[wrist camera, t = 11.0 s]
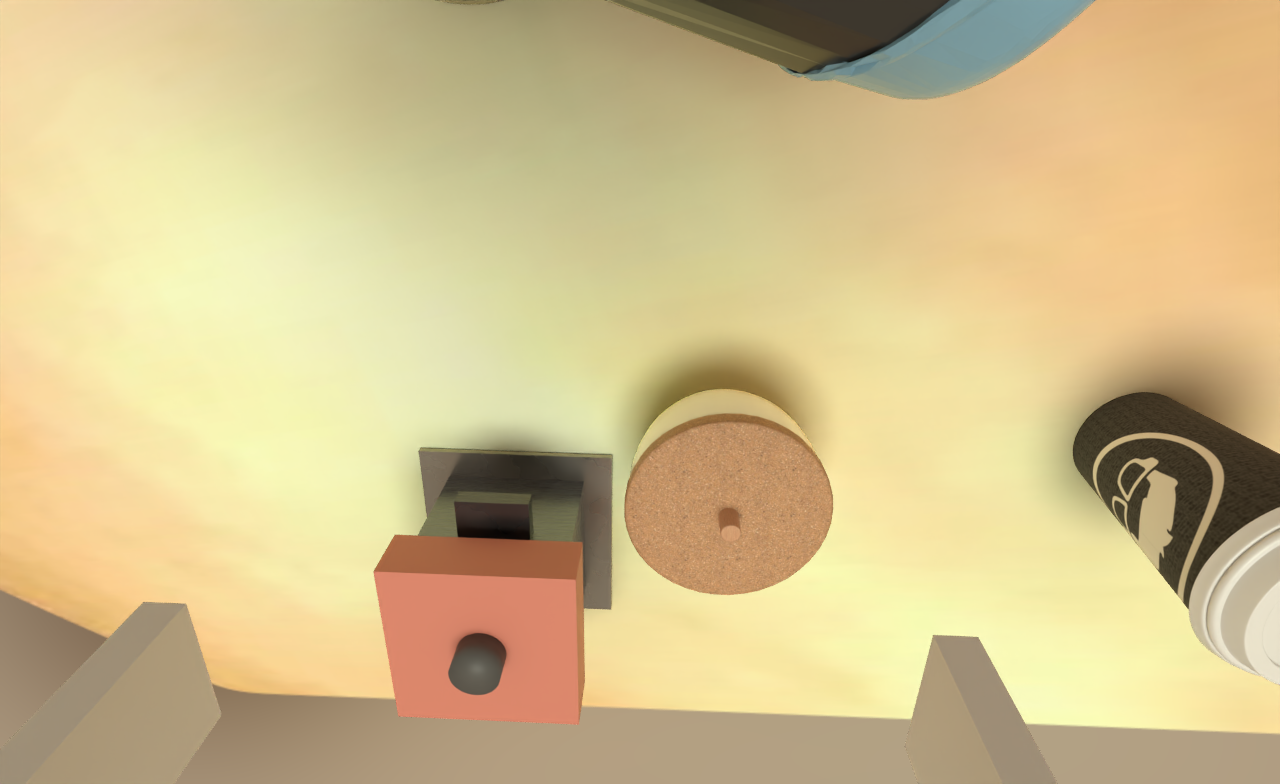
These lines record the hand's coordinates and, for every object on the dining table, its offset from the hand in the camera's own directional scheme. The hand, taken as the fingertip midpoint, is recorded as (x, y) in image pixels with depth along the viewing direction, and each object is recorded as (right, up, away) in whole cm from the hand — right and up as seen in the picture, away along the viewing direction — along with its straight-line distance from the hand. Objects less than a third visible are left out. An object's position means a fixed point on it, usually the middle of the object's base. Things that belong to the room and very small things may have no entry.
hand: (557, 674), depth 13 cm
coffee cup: (+31, +2, +30) cm, 43 cm away
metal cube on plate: (-6, -4, +34) cm, 35 cm away
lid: (-7, -7, +27) cm, 28 cm away
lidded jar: (+6, +2, +31) cm, 31 cm away
